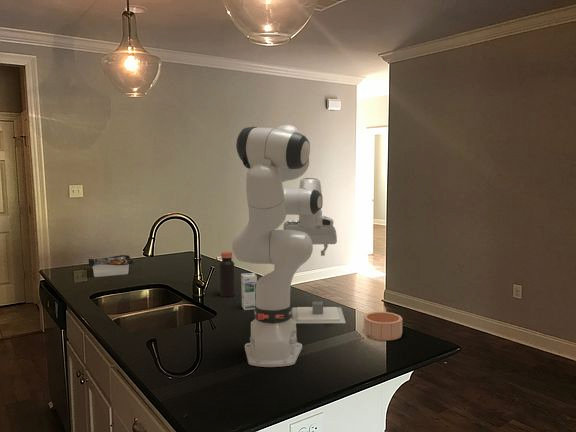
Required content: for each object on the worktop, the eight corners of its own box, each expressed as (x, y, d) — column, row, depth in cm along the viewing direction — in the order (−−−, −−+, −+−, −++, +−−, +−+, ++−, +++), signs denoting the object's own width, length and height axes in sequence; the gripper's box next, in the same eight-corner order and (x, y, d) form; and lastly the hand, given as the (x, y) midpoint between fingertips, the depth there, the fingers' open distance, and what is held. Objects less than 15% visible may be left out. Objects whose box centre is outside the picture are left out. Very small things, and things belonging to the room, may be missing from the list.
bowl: (405, 340, 165) (405, 323, 164) (366, 340, 165) (367, 323, 164) (397, 327, 177) (397, 311, 177) (361, 327, 178) (361, 311, 177)
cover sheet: (340, 321, 182) (340, 308, 182) (297, 321, 182) (297, 309, 182) (336, 308, 198) (336, 297, 198) (297, 309, 198) (297, 297, 198)
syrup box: (244, 310, 200) (243, 276, 199) (241, 306, 206) (241, 273, 204) (257, 309, 202) (257, 275, 200) (254, 305, 207) (254, 272, 206)
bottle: (236, 293, 227) (235, 251, 225) (233, 297, 220) (232, 254, 218) (222, 293, 227) (221, 251, 225) (218, 297, 221) (217, 253, 219)
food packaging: (133, 262, 267) (89, 265, 258) (134, 275, 267) (89, 279, 259) (129, 254, 289) (88, 257, 281) (129, 267, 290) (89, 270, 281)
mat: (345, 325, 180) (345, 323, 180) (292, 325, 181) (292, 323, 180) (340, 309, 200) (340, 307, 200) (292, 309, 200) (292, 307, 200)
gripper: (283, 221, 183) (283, 257, 185) (337, 221, 183) (337, 257, 185) (283, 219, 189) (283, 254, 191) (335, 218, 189) (335, 253, 191)
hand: (310, 255), depth 188 cm, fingers open, 8 cm apart
